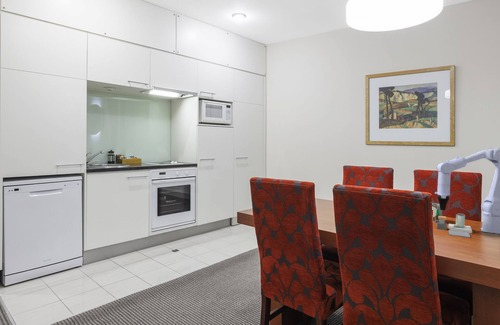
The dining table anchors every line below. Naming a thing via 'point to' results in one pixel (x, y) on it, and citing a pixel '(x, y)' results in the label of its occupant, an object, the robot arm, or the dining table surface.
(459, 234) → the mat
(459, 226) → the cylinder
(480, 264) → the dining table surface
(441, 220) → the release plunger
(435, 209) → the food container
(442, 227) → the filter housing
